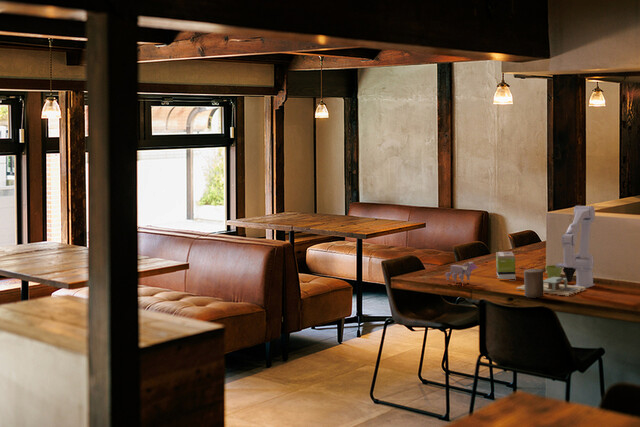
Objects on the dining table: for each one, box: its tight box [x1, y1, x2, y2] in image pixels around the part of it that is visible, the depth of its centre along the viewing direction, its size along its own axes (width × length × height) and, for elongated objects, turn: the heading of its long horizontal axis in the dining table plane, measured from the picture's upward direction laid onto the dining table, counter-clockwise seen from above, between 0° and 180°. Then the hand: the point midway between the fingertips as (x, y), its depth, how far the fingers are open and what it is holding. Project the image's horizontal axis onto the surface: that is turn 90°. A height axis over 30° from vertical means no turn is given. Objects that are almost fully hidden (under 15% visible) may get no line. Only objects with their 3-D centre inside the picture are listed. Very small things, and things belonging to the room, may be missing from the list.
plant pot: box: [544, 264, 563, 279], centre depth 452 cm, size 9×9×9 cm
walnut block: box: [548, 282, 560, 290], centre depth 427 cm, size 4×4×5 cm
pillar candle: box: [523, 268, 544, 299], centre depth 417 cm, size 10×10×15 cm
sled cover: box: [543, 276, 568, 291], centre depth 427 cm, size 14×8×6 cm, turn 136°
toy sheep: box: [444, 261, 479, 283], centre depth 454 cm, size 20×11×14 cm, turn 47°
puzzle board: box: [516, 283, 586, 297], centre depth 431 cm, size 20×30×2 cm, turn 46°
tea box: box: [495, 251, 517, 281], centre depth 467 cm, size 15×10×15 cm, turn 172°
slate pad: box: [560, 287, 578, 292], centre depth 422 cm, size 7×7×1 cm
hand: (569, 281), depth 420 cm, fingers closed
